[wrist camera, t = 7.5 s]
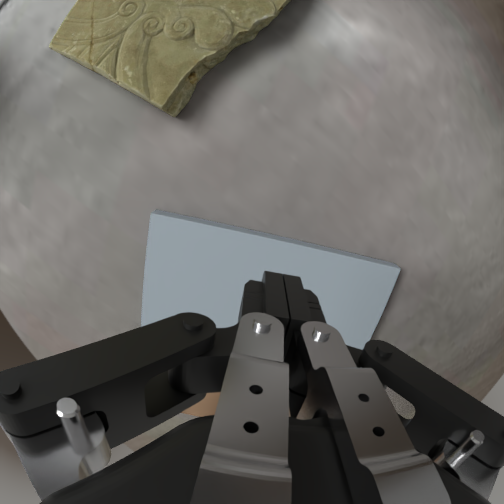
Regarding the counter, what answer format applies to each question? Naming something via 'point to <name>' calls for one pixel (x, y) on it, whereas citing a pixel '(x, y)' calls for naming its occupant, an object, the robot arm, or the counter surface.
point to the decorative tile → (159, 41)
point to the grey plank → (256, 274)
